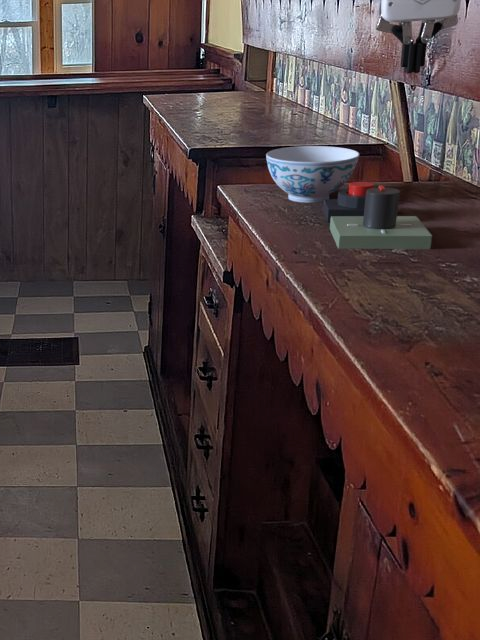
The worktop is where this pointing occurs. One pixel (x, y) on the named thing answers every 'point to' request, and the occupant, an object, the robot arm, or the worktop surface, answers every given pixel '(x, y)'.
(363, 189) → the button
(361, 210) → the switch block
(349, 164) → the chinaware
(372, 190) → the dark grey cylinder
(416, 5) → the robot arm
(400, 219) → the console
